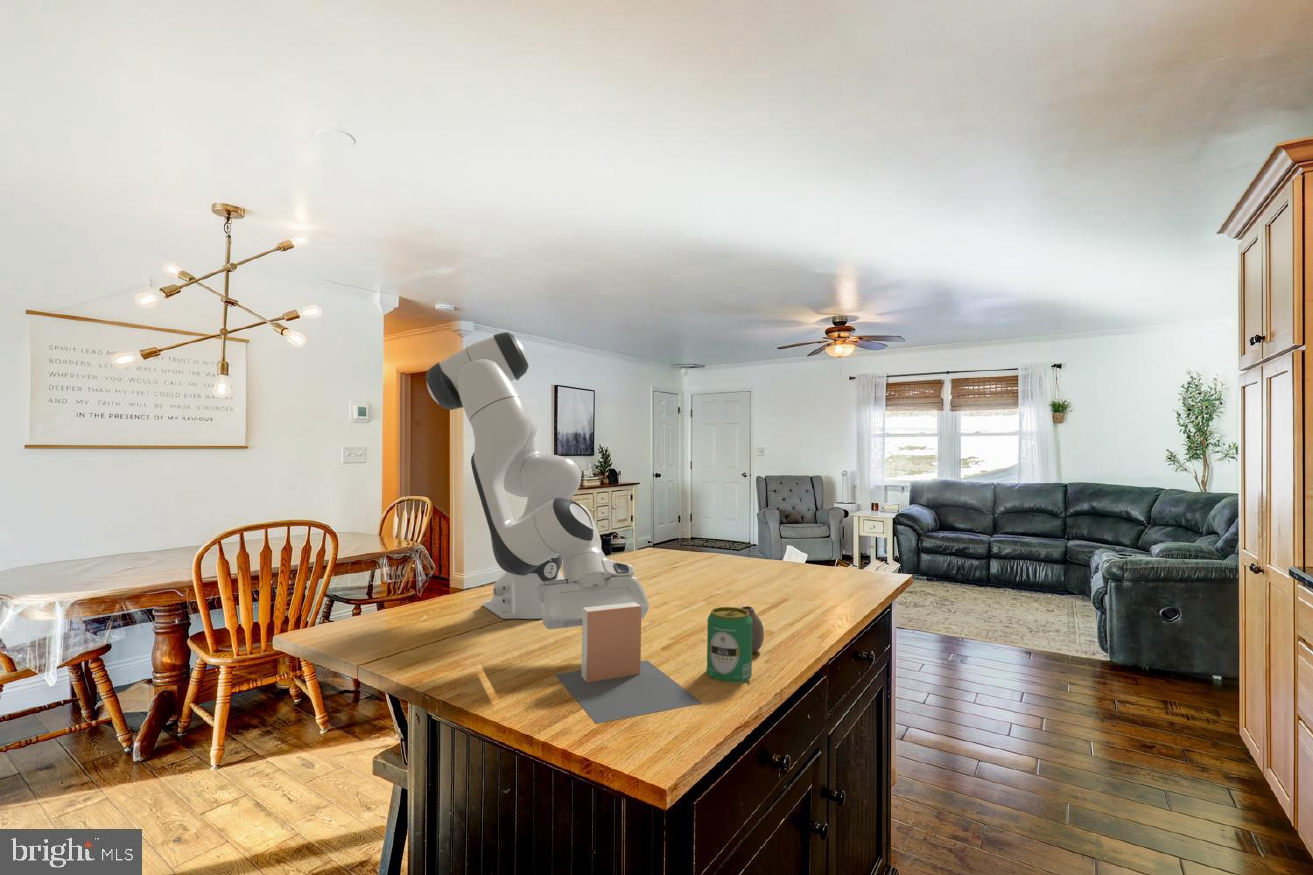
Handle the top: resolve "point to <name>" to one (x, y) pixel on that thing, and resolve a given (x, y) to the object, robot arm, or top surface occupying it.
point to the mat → (627, 694)
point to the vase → (755, 629)
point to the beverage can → (729, 644)
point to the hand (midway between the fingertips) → (604, 643)
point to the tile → (611, 641)
